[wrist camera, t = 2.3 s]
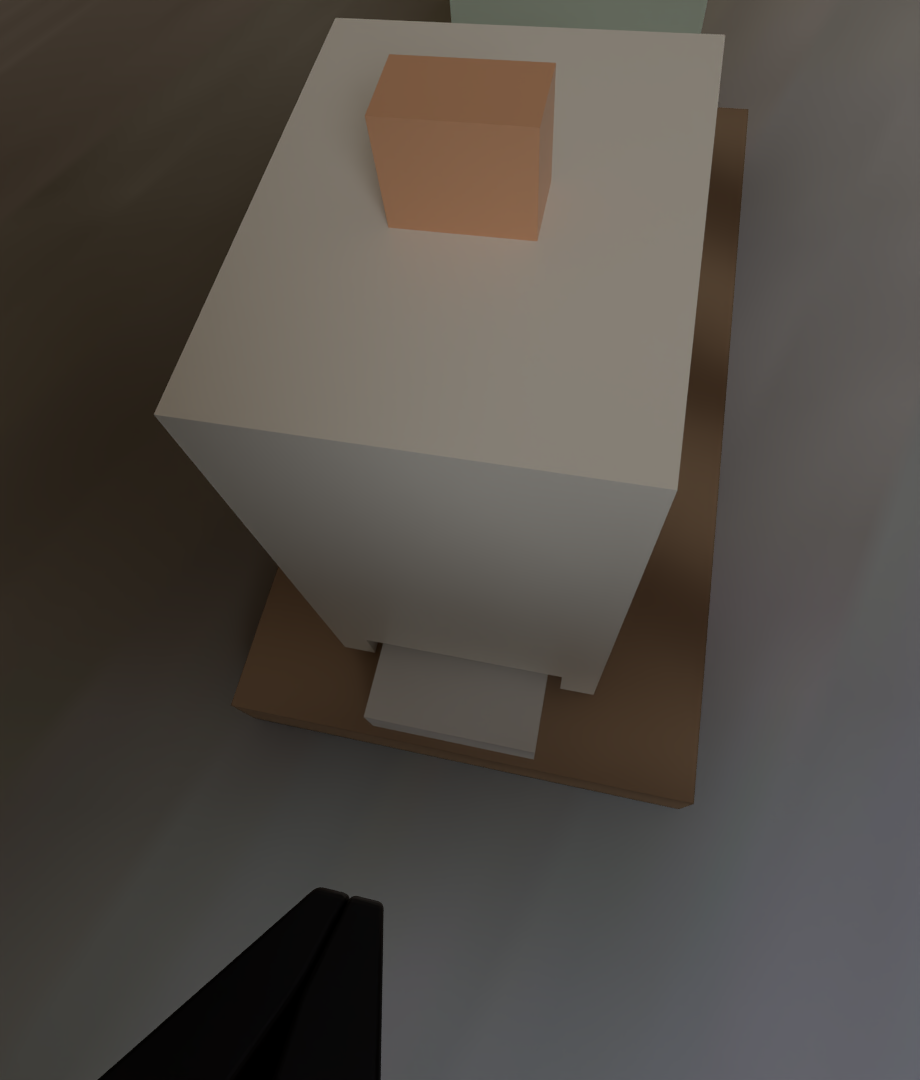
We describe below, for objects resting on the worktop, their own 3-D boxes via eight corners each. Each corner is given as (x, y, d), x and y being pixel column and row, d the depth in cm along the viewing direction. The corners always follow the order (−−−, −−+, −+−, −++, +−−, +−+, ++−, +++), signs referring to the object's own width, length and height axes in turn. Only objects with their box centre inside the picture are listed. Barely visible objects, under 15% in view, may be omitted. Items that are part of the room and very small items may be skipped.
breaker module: (593, 694, 15) (713, 402, 5) (344, 646, 16) (79, 325, 6) (632, 418, 18) (756, -94, 8) (418, 390, 19) (309, -101, 9)
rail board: (678, 809, 16) (705, 799, 13) (254, 717, 17) (213, 695, 15) (735, 152, 24) (757, 77, 21) (444, 132, 25) (437, 60, 23)
